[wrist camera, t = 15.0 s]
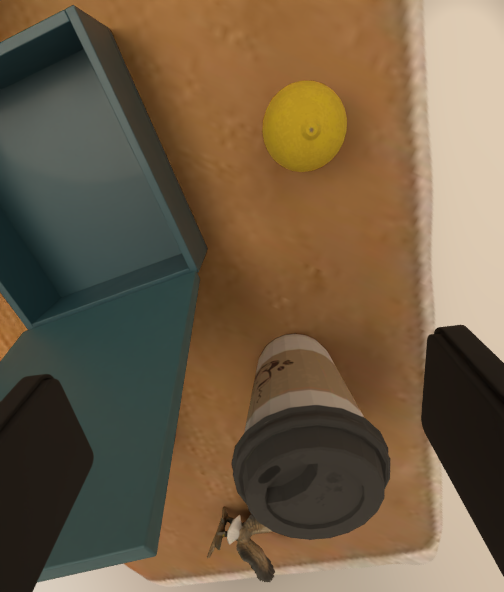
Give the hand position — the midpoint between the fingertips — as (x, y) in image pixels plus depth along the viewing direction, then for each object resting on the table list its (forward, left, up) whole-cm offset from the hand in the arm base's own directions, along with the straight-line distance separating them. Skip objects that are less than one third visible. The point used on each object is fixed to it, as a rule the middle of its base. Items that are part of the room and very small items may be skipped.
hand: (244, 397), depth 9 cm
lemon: (-4, +5, -24) cm, 25 cm away
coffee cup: (+17, -2, -24) cm, 29 cm away
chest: (-6, -13, -24) cm, 28 cm away
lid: (+3, -13, -8) cm, 16 cm away
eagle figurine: (+39, -15, -24) cm, 48 cm away
